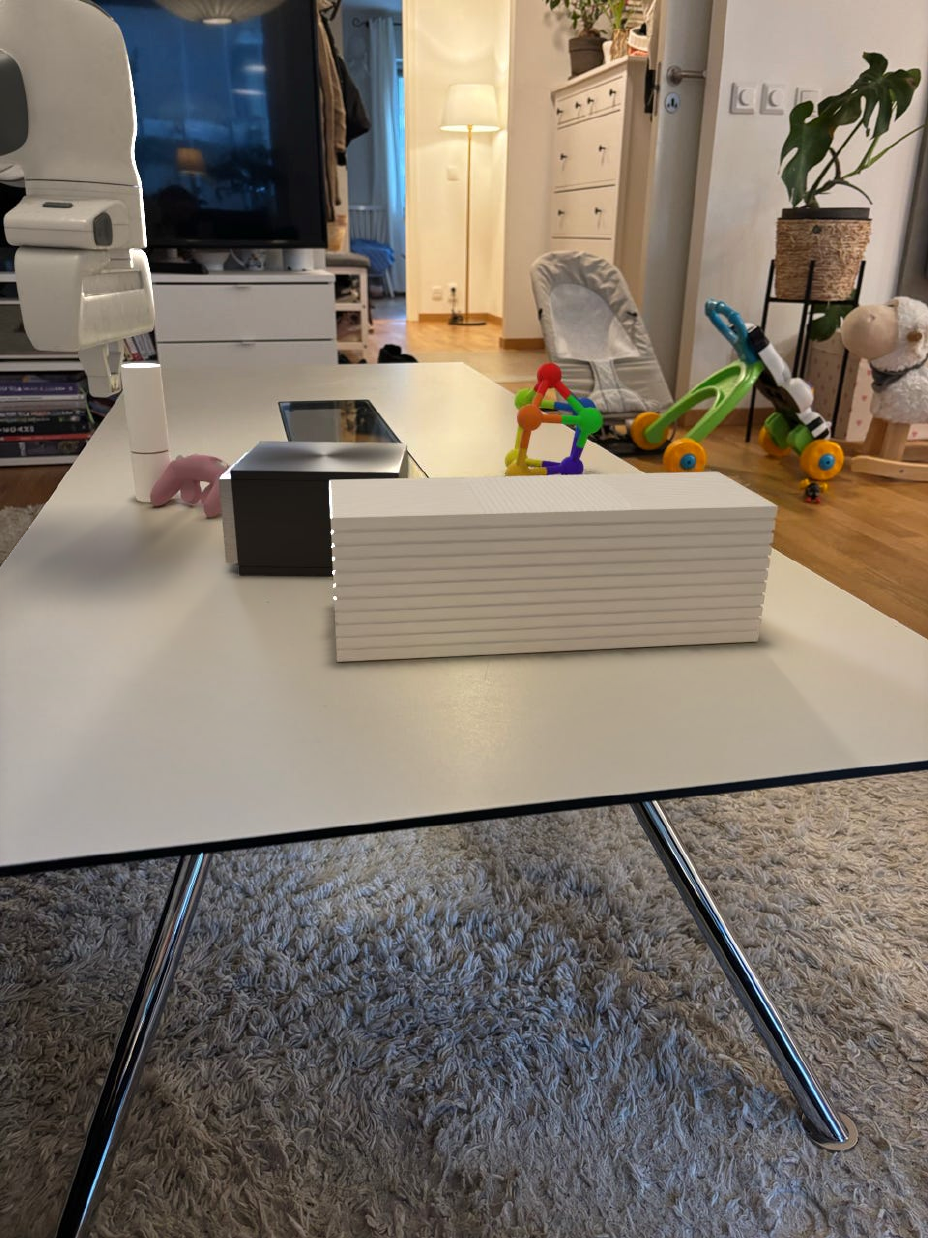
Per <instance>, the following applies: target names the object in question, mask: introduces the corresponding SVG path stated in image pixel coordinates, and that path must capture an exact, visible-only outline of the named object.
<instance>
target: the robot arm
mask: <svg viewBox="0 0 928 1238" xmlns="http://www.w3.org/2000/svg"><path fill="white" fill-rule="evenodd" d="M136 111H137V110H136V103H135V95H134V86H133V78H132V73H131V66H130V61H129V55H128V51H127V47H126V42H125V39H124V36H123V33H122V30H121V28H120V26H119V24H118V23H117V22H116V21H115V19H114V18H113V16H111V15H110V14H109V13H108V12H107V11H106V10H105V9H104V8H102V7H101V6H100V5H98V4H97V3H95V2H94V1H92V0H0V183H1V184H4V185H7V186H10V187H16V188H25V194H26V195H24V196H23V197H22V199H21V200H20V201H19V203H17V204H16V206H14V207H13V208H11V209H10V210H9V211H7V212H6V213H5V215H4V217H3V227H4V235H5V239H6V241H7V243H8V244H9V245H11V246H16V247H19V248H17V250H16V252H15V255H14V274H15V281H16V289H17V294H18V300H19V301H18V302H19V306H20V307H19V308H20V311H21V317H22V322H23V327H24V330H25V333H26V335H27V338H28V339H29V341H30V344H31V345H32V347H33V348H34V349H35V350H37V351H44V352H58V353H59V352H60V353H61V352H63V353H77V355H78V359H79V361H80V363H81V366H82V368H83V371H84V372H85V375H86V377H87V385H88V392H89V394H90V396H91V397H93V398H109V397H111V396H114V395H116V394H118V393H120V392H121V391H122V380H121V366H122V365H123V359H124V354H125V348H124V339H128V338H131V337H135V336H139V335H142V334H147V333H150V332H152V331H153V330H154V329H155V322H156V311H155V301H154V293H153V292H154V291H153V287H152V278H151V271H150V266H149V261H148V257H147V255H146V252H144V250H143V249H146V248H147V246H148V245H147V235H146V222H145V210H144V209H145V208H144V199H143V196H144V195H143V186H142V185H143V184H142V180H141V177H140V174H139V171H138V168H137V164H136V160H135V142H136V137H137V131H138V123H137V122H138V121H137V112H136Z"/></svg>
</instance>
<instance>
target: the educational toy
mask: <svg viewBox="0 0 928 1238" xmlns="http://www.w3.org/2000/svg"><path fill="white" fill-rule="evenodd" d="M562 377H563V373H562V370H561V368H560V366H558V364H556V363H554V362H545V363H542V364H541V365H540V366H539V368H538V369H537V371H536V380H537V382H536V383H535V384H534V385H533V386H532V388H531V389H530V388H522V389H520V390H518V391H517V392H516V393H515V396H514V401H513V402H514V406H515V408H516V409H517V410H518V411H517V415H516V421H517V430H516V437H515V442H514V448H512V449H510V450H509V451H508V452H507V453H506V454H505V456H504V464H505V467H506V470H505V476H536V475H538V476H539V475H583V473H584V467H585V466H584V463H583V462H582V460H581V456H582V453H583V451H584V448H585V447H586V443H587V441H588V439H589V436H590V435H591V434H595V433H597V432H599V431H600V429H601V427H602V426H603V422H604V417H603V415H602V413H601V411H599V410H598V409H597V406H596V404H595V402H594V401H593V400H592V399H591V398H588V397H580V398H578V397H577V396H576V394H574V393H573V392H572V391H571V390H570V389H569V388H568V387H567V386H566V384H564V383H563V381H562ZM548 389H555V390H556V392H558V394H559V395H560V396H561V397H562V398H563V399H564V401H566V402H562V401H555V400H550V399H549V400H548V399H544V398H545V396H546V394H547V392H548ZM540 408H543V409H549V410H555V411H561V412H568V413H572V415H570V414H552V413H551V414H549V413H543V411H542V410H541V409H540ZM542 424H559V425H575V430H574V436H573V440H572V444H571V445H572V446H571V449H570V454H569V456H566V457H564V458H563V459H562V460H561V461H560V462H557V461H550V460H543V459H536V458H530V457H529V456H528V455H527V453H528V450H529V444H530V440H531V435H532V432H534V431H536V430H537V429H539V428H540V427H541V425H542ZM528 457H529V458H528ZM529 467H530V468H529Z"/></svg>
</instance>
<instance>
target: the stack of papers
mask: <svg viewBox="0 0 928 1238" xmlns="http://www.w3.org/2000/svg"><path fill="white" fill-rule="evenodd" d="M329 489H330V514H331V537H332V560H333V576H332V578H333V582H332V583H333V602H334V603H333V605H334V624H335V626H334V627H335V648H336V649H335V650H336V651H335V652H336V663H339V662H341V663H342V662H362V661H364V662H365V661H382V660H383V661H385V660H399V659H400V660H403V659H404V660H405V659H419V658H420V659H422V658H423V659H424V658H441V657H442V658H443V657H465V656H481V655H482V656H483V655H486V656H487V655H489V656H490V655H506V654H507V655H508V654H527V653H546V652H547V653H548V652H550V653H551V652H567V651H587V650H588V651H589V650H590V651H591V650H608V649H626V648H628V649H629V648H648V647H649V648H650V647H651V648H652V647H667V646H691V645H692V646H693V645H712V644H729V643H731V644H732V643H749V642H751V643H752V642H759V637H760V630H759V629H760V628H761V624H762V619H761V618H760V617H762V616H763V611H764V607H763V606H762V605H765V604H764V603H765V594H763V593H766V590H767V583H766V582H765V581H768V575H769V570H767V569H769V568H770V564H771V558H770V557H771V555H772V549H773V545H771V544H773V543H774V537H775V533H774V532H772V531H775V530H776V523H777V521H776V520H775V519H774V518H777V517H778V510H779V506H778V505H777V504H775V503H773V502H772V501H770V500H768V499H766V498H765V497H763V496H762V495H760V494H758V493H757V492H755V491H753V490H751V489H749V488H747V487H746V486H744V485H743V484H740V483H739V482H737V481H736V480H734V479H732V478H730V477H728V475H727V476H726V475H725V474H723V473H721V472H720V471H692V472H691V471H689V472H686V471H685V472H684V471H682V472H641V473H640V472H637V473H595V474H594V473H591V474H589V473H588V474H582V475H561V474H553V475H539V476H538V475H536V476H506V475H499V476H498V475H495V476H494V475H493V476H451V477H450V476H449V477H446V476H444V477H443V476H442V477H407V478H393V479H345V480H329Z"/></svg>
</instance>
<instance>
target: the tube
mask: <svg viewBox="0 0 928 1238" xmlns="http://www.w3.org/2000/svg"><path fill="white" fill-rule="evenodd" d="M161 366H162V365H161V364H159V363H150V362H149V363H148V362H140V363H139V362H137V363H125V364H122V366H121V372H120V377H121V389H122V395H123V396H122V397H123V403H124V411H125V419H126V426H127V435H128V442H129V449H130V459H131V466H132V467H131V468H132V474H133V483H134V491H135V497H136V498H135V499H136V501H137V502H141V503H151V501H150V493H151V490H152V488H153V486H154V485H155V483H156V482H157V481H158V480H159V479H160V477H161V476H162V475H163V473H164V472H165V470H166V469H167V467H168V465H169V464H170V463H171V462H172V457H171V451H170V439H169V430H168V422H167V421H168V420H167V412H166V403H165V395H164V394H165V393H164V386H163V378H162V377H163V375H162V368H161ZM175 498H176V495H174V496H173V497H172V498H171V499H170V500H169V501H171V500H174V499H175ZM151 504H152V503H151Z"/></svg>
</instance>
